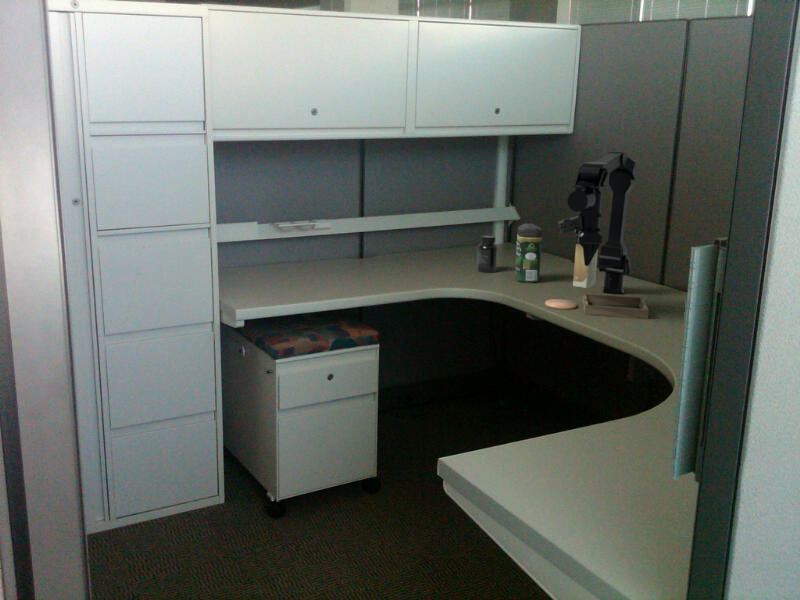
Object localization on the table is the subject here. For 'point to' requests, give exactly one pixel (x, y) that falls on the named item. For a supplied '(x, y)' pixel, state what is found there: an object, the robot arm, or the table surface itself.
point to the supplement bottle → (487, 255)
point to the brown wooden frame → (615, 310)
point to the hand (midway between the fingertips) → (585, 263)
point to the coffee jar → (528, 253)
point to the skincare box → (584, 269)
